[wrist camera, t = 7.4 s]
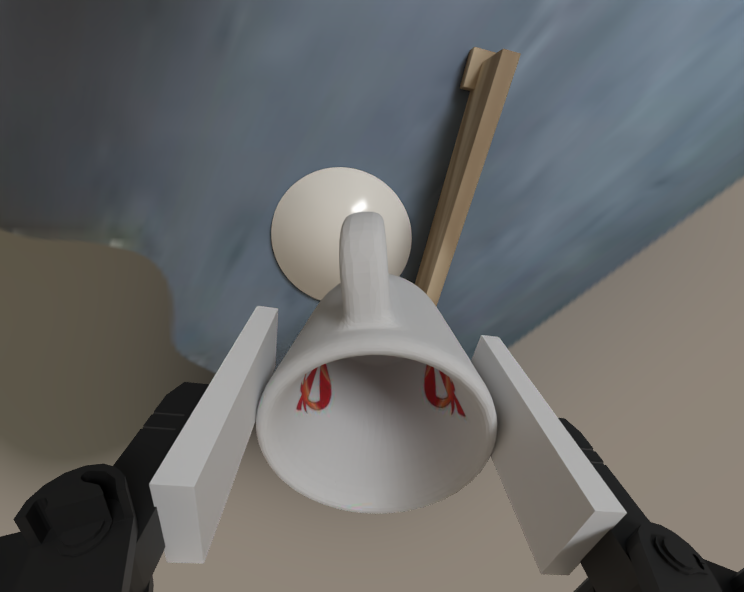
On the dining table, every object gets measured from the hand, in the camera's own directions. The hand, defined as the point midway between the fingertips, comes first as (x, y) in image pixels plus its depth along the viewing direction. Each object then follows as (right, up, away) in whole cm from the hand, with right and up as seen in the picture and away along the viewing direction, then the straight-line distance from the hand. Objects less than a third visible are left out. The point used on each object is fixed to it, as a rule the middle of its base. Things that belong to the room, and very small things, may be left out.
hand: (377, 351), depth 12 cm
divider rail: (+6, +10, +16) cm, 20 cm away
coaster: (-3, +7, +17) cm, 18 cm away
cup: (0, +2, +4) cm, 5 cm away
